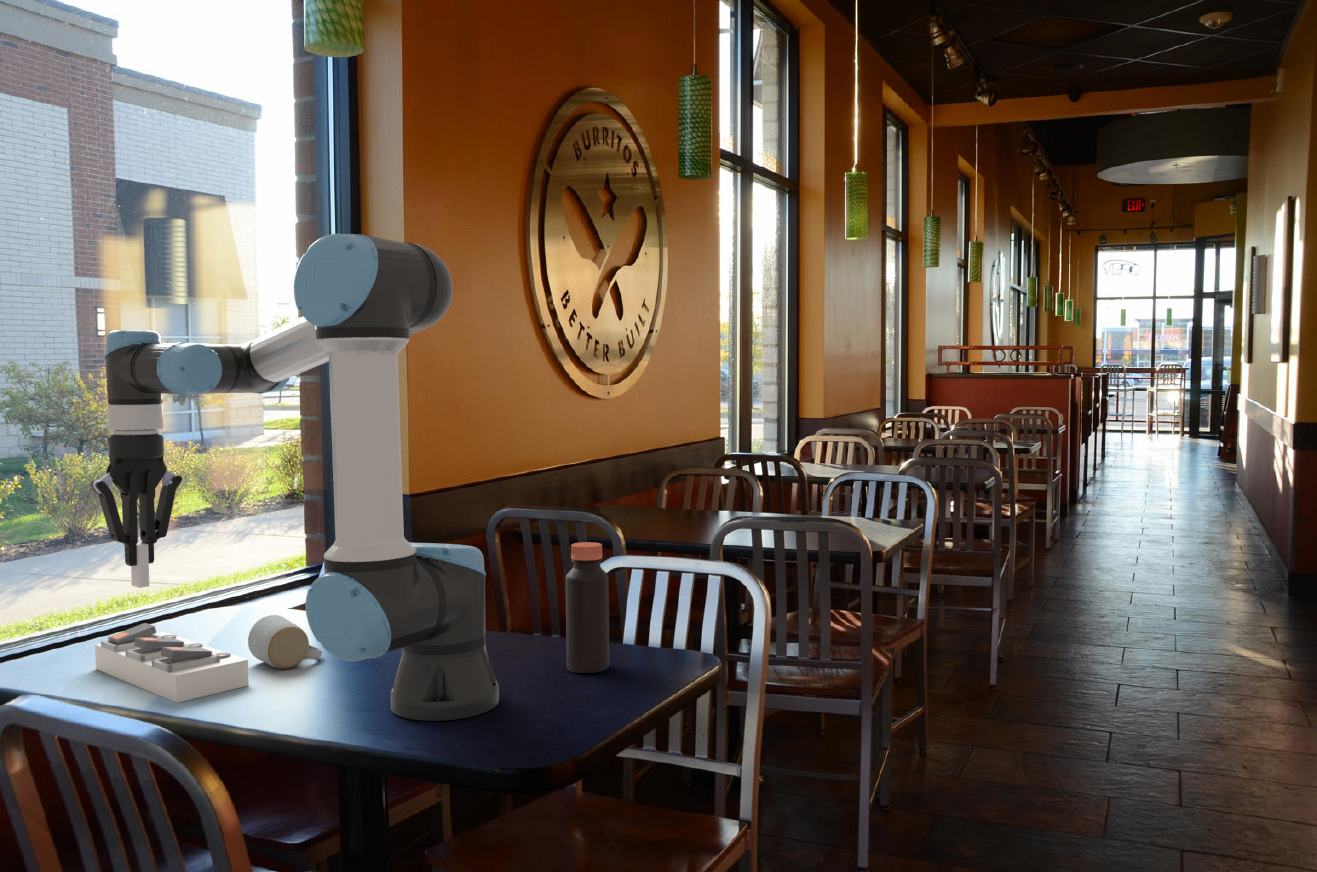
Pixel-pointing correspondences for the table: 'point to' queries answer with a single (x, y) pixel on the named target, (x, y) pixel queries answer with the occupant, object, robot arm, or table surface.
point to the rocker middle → (157, 643)
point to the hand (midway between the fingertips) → (140, 585)
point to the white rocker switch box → (172, 669)
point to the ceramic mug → (280, 642)
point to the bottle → (587, 610)
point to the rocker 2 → (185, 652)
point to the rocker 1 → (132, 634)
